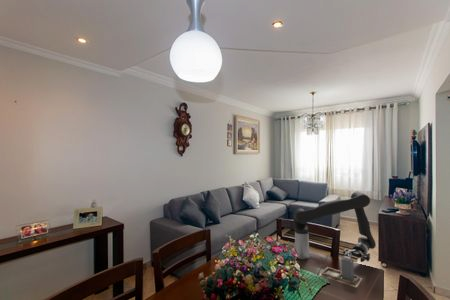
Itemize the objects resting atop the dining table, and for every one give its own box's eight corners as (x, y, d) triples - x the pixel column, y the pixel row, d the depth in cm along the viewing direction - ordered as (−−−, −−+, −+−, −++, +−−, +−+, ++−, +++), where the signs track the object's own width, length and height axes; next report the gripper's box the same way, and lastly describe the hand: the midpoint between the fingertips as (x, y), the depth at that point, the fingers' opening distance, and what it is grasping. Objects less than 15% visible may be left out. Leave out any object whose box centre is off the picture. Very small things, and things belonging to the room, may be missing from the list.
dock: (318, 276, 137) (318, 272, 137) (326, 268, 146) (326, 265, 146) (356, 288, 124) (356, 285, 124) (362, 279, 132) (362, 276, 132)
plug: (341, 278, 132) (341, 257, 132) (344, 275, 135) (343, 254, 136) (351, 281, 128) (350, 259, 129) (354, 278, 132) (353, 256, 132)
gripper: (348, 241, 157) (340, 249, 145) (372, 246, 147) (366, 255, 135) (348, 252, 157) (340, 261, 145) (373, 258, 147) (366, 268, 135)
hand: (353, 258), depth 140 cm, fingers open, 8 cm apart
